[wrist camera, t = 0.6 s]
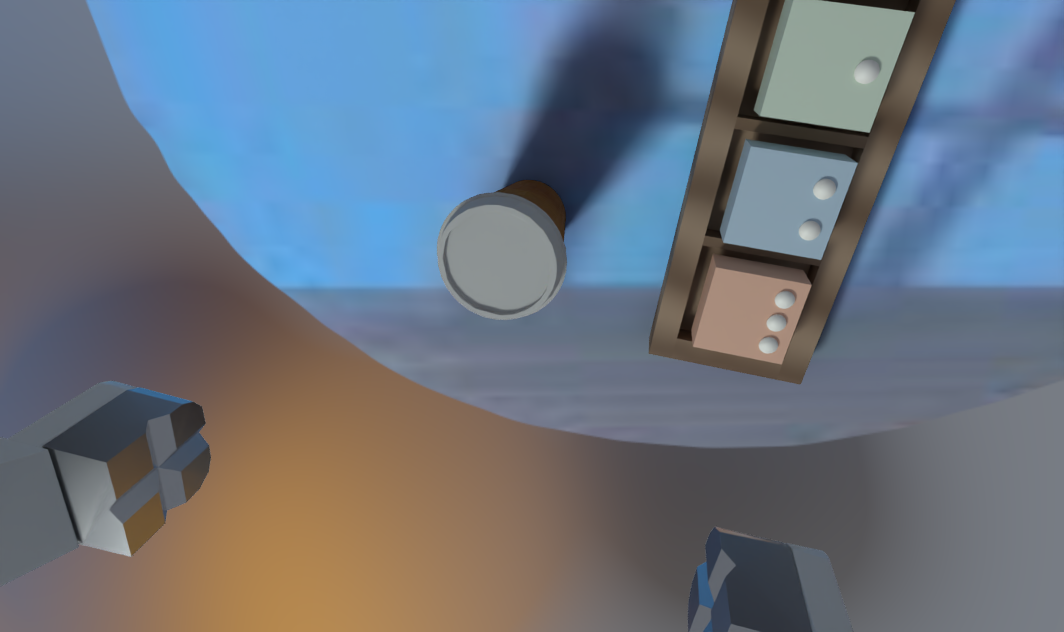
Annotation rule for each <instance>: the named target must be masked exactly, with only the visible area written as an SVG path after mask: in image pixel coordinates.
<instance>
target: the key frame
mask: <svg viewBox="0 0 1064 632" xmlns="http://www.w3.org/2000/svg"><path fill="white" fill-rule="evenodd" d="M821 1H829V2H837V3H845V4H853V5H861V6H868V7H876V8H884V9H892V10H900V11H908V12H915V14H914V16H913V19H912V22H911V24H910V27H909V30H908V32H907V35H906V37H905V40H904V43H903V45H902V48H901V51H900V53H899V56H898V59H897V61H896V64H895V67H894V69H893V72H892V74H891V77H890V80H889V82H888V85H887V88H886V90H885V93H884V96H883V98H882V101H881V103H880V106H879V109H878V111H877V114H876V117H875V119H874V122H873V125H872V127H871V130H870V133H869V132H862V131H855V130H849V129H842V128H836V127H829V126H822V125H816V124H809V123H803V122H796V121H789V120H783V119H776V118H770V117H763V116H759V115H758V114H757V113H756V112H755V111H754V107H755V104H756V100H757V97H758V93H759V90H760V86H761V83H762V79H763V76H764V72H765V69H766V65H767V61H768V58H769V54H770V51H771V47H772V44H773V40H774V37H775V33H776V30H777V26H778V23H779V19H780V16H781V12H782V9H783V5H784V2H785V0H733V2H732V6H731V10H730V14H729V18H728V22H727V26H726V30H725V34H724V38H723V42H722V46H721V50H720V54H719V58H718V62H717V66H716V70H715V74H714V78H713V82H712V86H711V90H710V95H709V99H708V103H707V107H706V111H705V115H704V119H703V123H702V127H701V131H700V135H699V139H698V143H697V147H696V151H695V155H694V159H693V163H692V167H691V171H690V175H689V179H688V183H687V188H686V192H685V196H684V200H683V204H682V208H681V212H680V216H679V220H678V224H677V228H676V232H675V236H674V240H673V244H672V248H671V252H670V256H669V260H668V264H667V268H666V272H665V276H664V280H663V285H662V289H661V293H660V297H659V301H658V305H657V309H656V313H655V317H654V321H653V325H652V329H651V333H650V337H649V354H653V355H658V356H663V357H668V358H673V359H678V360H683V361H688V362H693V363H698V364H703V365H707V366H712V367H717V368H722V369H727V370H732V371H737V372H742V373H747V374H752V375H757V376H761V377H766V378H771V379H776V380H781V381H786V382H791V383H796V384H801V382H802V380H803V377H804V375H805V372H806V370H807V367H808V365H809V362H810V360H811V357H812V355H813V352H814V350H815V347H816V345H817V342H818V340H819V338H820V335H821V333H822V330H823V328H824V325H825V323H826V320H827V318H828V315H829V313H830V310H831V308H832V305H833V303H834V300H835V298H836V295H837V293H838V291H839V288H840V286H841V283H842V281H843V278H844V276H845V273H846V271H847V268H848V266H849V263H850V261H851V258H852V256H853V253H854V251H855V248H856V246H857V244H858V241H859V239H860V236H861V234H862V231H863V229H864V226H865V224H866V221H867V219H868V216H869V214H870V211H871V209H872V206H873V204H874V201H875V199H876V197H877V194H878V192H879V189H880V187H881V184H882V182H883V179H884V177H885V174H886V172H887V169H888V167H889V164H890V162H891V159H892V157H893V154H894V152H895V150H896V147H897V145H898V142H899V140H900V137H901V135H902V132H903V130H904V127H905V125H906V122H907V120H908V117H909V115H910V112H911V110H912V108H913V105H914V103H915V100H916V98H917V95H918V93H919V90H920V88H921V85H922V83H923V80H924V78H925V75H926V73H927V70H928V68H929V65H930V63H931V61H932V58H933V56H934V53H935V51H936V48H937V46H938V43H939V41H940V38H941V36H942V33H943V31H944V28H945V26H946V23H947V21H948V18H949V16H950V14H951V11H952V9H953V6H954V4H955V1H956V0H821ZM745 139H750V140H756V141H762V142H769V143H775V144H781V145H788V146H794V147H801V148H807V149H813V150H820V151H826V152H832V153H839V154H845V155H847V156H848V157H850V158H851V159H852V160H854V161H855V162H857V163H858V164H857V167H856V169H855V172H854V175H853V177H852V180H851V183H850V185H849V188H848V191H847V193H846V196H845V199H844V201H843V204H842V206H841V209H840V212H839V214H838V217H837V220H836V222H835V225H834V228H833V230H832V233H831V235H830V238H829V241H828V243H827V246H826V249H825V251H824V254H823V257H822V259H821V260H818V259H813V258H807V257H801V256H796V255H790V254H785V253H779V252H773V251H768V250H762V249H757V248H751V247H745V246H740V245H734V244H728V243H723V240H722V237H721V233H720V227H721V223H722V220H723V216H724V213H725V209H726V206H727V202H728V199H729V195H730V192H731V188H732V185H733V181H734V178H735V174H736V171H737V167H738V164H739V160H740V157H741V153H742V149H743V146H744V142H745ZM713 254H717V255H723V256H728V257H734V258H739V259H745V260H750V261H756V262H761V263H767V264H773V265H778V266H784V267H789V268H795V269H800V270H803V271H804V272H805V274H806V276H807V278H808V279H809V281H810V283H811V285H812V286H811V288H810V291H809V294H808V296H807V299H806V301H805V304H804V307H803V309H802V312H801V315H800V317H799V320H798V323H797V325H796V328H795V331H794V333H793V336H792V338H791V341H790V344H789V346H788V349H787V352H786V354H785V357H784V360H783V362H782V364H777V363H772V362H767V361H762V360H757V359H752V358H747V357H742V356H737V355H732V354H727V353H722V352H717V351H712V350H707V349H702V348H697V347H693V342H692V332H691V329H692V326H693V322H694V318H695V315H696V311H697V308H698V304H699V301H700V297H701V294H702V290H703V287H704V283H705V280H706V276H707V273H708V269H709V266H710V262H711V259H712V255H713Z"/></svg>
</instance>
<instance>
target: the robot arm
mask: <svg viewBox="0 0 1064 632" xmlns="http://www.w3.org/2000/svg"><path fill="white" fill-rule="evenodd" d="M204 425H205V418H204V413H203V409H202V406H200V405H198V404H196V403H195V402H192V401H188V400H185V399H181V398H177V397H174V396H170V395H166V394H162V393H159V392H155V391H151V390H148V389H144V388H137V387H133V386H130V385H126V384H122V383H119V382H115V381H108V382H101V383H98V384H96V385H95V386H93V387H92V388H90V389H88V390H87V391H85V392H84V393H82V394H80V395H79V396H77V397H75V398H74V399H72V400H70V401H69V402H67V403H65V404H64V405H62V406H61V407H59V408H57V409H56V410H54V411H52V412H51V413H49V414H47V415H46V416H44V417H43V418H41V419H39V420H38V421H36V422H34V423H33V424H31V425H30V426H28V427H26V428H25V429H23V430H21V431H20V432H18V433H16V434H15V435H13V436H12V437H10V438H8V439H6V438H1V437H0V587H1V586H3V585H4V584H7V583H8V582H10V581H12V580H15V579H16V578H18V577H21V576H22V575H24V574H26V573H28V572H30V571H32V570H34V569H36V568H38V567H40V566H42V565H44V564H46V563H48V562H50V561H52V560H54V559H56V558H58V557H60V556H62V555H64V554H66V553H68V552H70V551H72V550H74V549H76V548H78V547H79V545H78V544H81V545H86V546H89V547H94V548H98V549H102V550H106V551H110V552H114V553H118V554H122V555H126V556H132V555H133V554H134V553H136V551H138V549H140V548H141V547H142V546H143V544H145V543H146V542H147V541H148V540H149V539H150V538H151V537H152V536H153V535H154V534H155V533H156V532H157V531H158V530H159V529H160V528H161V527H162V526H163V525H164V524H165V521H166V513H167V510H169V509H172V508H174V507H177V506H179V505H181V504H183V503H186V502H187V501H188V500H189V499H190V498H191V497H192V496H193V495H194V494H195V493H196V492H197V491H198V490H199V489H200V487H201V485H202V483H203V481H204V479H205V478H206V476H207V473H208V472H209V466H210V459H211V455H210V448H209V445H208V443H207V442H206V441H205V440H204V438H203V437H202V436H201V434H200V433H199V431H200V430H201V429H202V428H203V426H204ZM705 550H706V562H705V563H703V564H702V565H700V566H698V567H697V569H696V572H695V575H694V578H693V581H692V585H691V591H690V597H689V602H688V632H854V631H853V628H852V625H851V623H850V620H849V617H848V613H847V611H846V607H845V604H844V602H843V599H842V596H841V593H840V590H839V587H838V584H837V581H836V578H835V575H834V572H833V569H832V566H831V563H830V560H829V557H828V556H827V555H826V554H825V553H824V551H821V550H816V549H811V548H807V547H803V546H798V545H794V544H789V543H786V544H784V543H783V542H779V541H775V540H770V539H765V538H762V537H757V536H753V535H749V534H744V533H740V532H735V531H731V530H727V529H723V528H718V527H714V528H713V530H712V531H711V532H710V534H709V537H708V539H707V542H706V545H705Z"/></svg>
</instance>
